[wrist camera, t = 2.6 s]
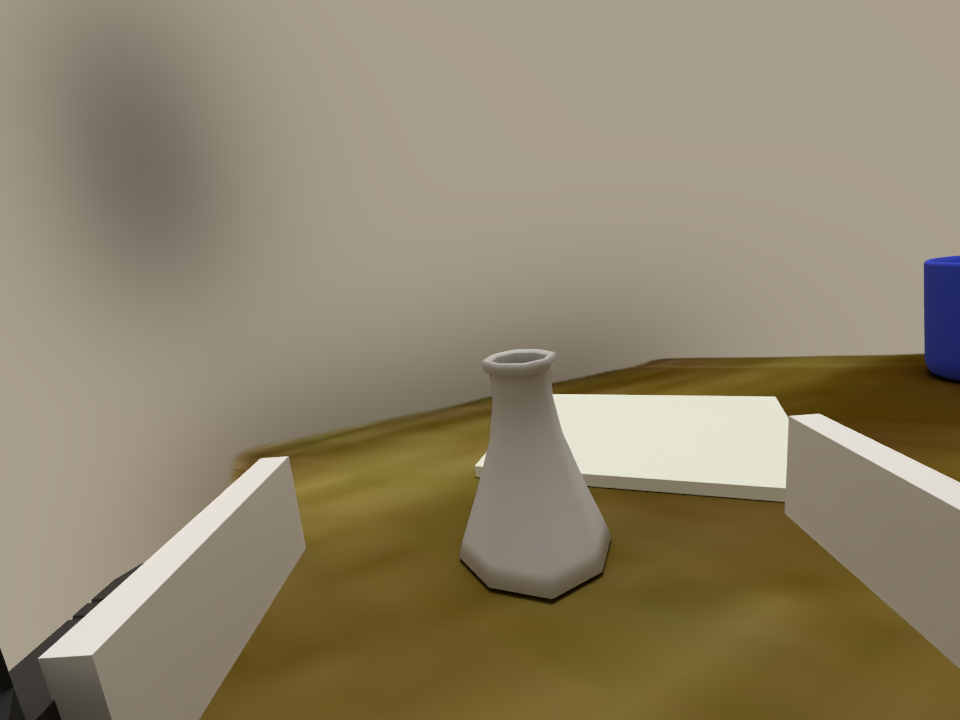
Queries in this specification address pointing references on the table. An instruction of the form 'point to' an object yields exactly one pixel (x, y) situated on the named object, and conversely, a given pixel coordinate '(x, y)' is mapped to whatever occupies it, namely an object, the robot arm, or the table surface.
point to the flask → (531, 490)
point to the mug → (942, 316)
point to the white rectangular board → (678, 443)
